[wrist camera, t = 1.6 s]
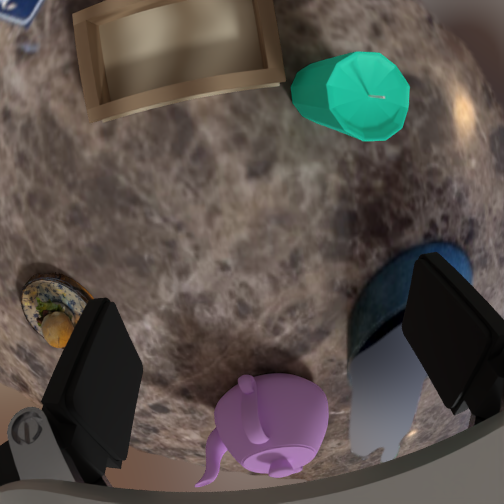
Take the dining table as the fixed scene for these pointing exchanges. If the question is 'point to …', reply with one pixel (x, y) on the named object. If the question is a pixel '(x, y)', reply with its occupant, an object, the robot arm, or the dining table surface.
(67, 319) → the plate of food
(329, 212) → the dining table surface
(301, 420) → the teapot
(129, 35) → the tray
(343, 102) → the candle
